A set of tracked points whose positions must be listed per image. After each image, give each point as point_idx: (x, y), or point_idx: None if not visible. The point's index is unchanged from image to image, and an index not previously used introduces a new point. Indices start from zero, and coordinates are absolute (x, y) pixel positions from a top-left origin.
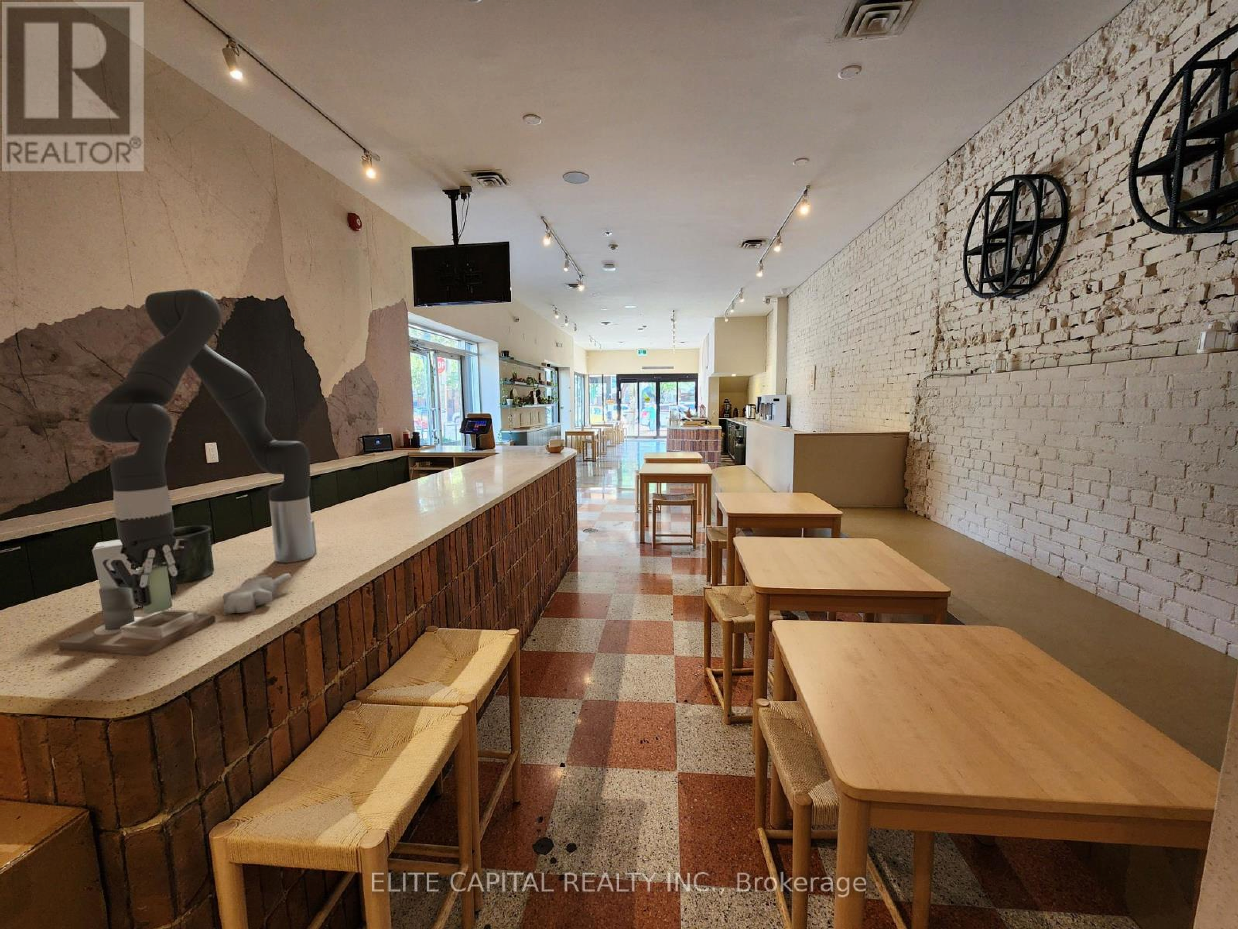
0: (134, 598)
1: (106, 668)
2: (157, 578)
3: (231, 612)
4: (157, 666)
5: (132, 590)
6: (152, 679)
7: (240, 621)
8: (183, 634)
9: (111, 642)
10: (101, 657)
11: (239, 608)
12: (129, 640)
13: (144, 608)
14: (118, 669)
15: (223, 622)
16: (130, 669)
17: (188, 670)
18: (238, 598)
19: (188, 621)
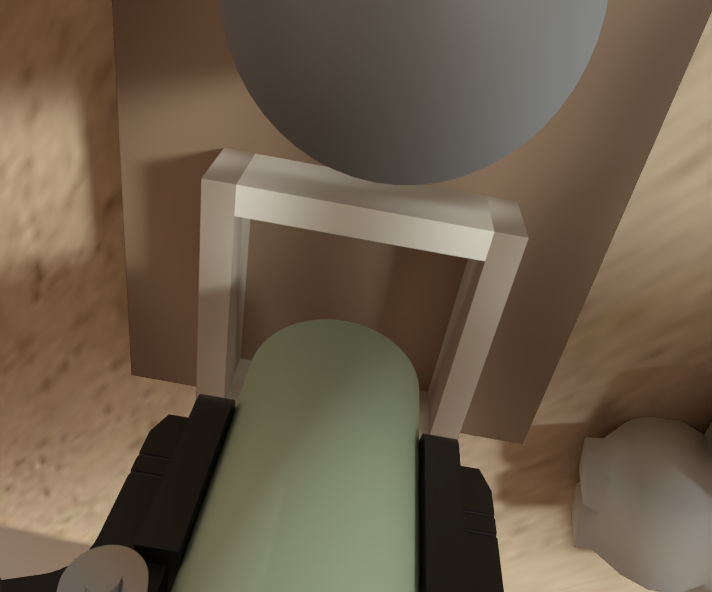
0: (136, 468)
1: (16, 262)
2: None
3: (581, 467)
4: (84, 441)
5: (100, 534)
6: (9, 480)
7: (499, 504)
8: None
9: (154, 143)
10: (94, 134)
11: (575, 520)
12: (191, 234)
13: (242, 388)
14: (25, 321)
15: (501, 447)
16: (39, 366)
17: (86, 539)
18: (639, 542)
19: None
